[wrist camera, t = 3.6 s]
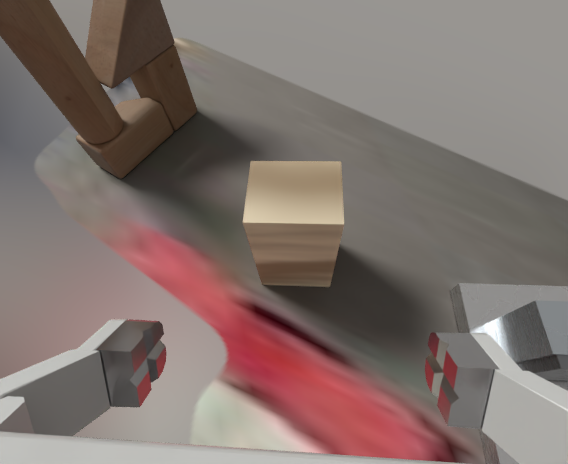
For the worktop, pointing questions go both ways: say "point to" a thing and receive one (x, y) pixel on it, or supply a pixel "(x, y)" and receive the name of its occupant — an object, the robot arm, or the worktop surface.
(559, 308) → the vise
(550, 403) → the robot arm
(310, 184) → the beech block
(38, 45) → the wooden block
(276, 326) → the worktop surface
